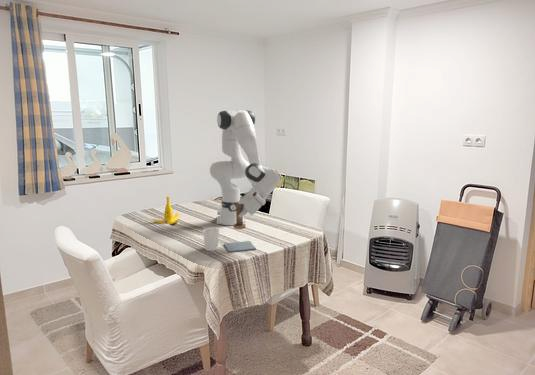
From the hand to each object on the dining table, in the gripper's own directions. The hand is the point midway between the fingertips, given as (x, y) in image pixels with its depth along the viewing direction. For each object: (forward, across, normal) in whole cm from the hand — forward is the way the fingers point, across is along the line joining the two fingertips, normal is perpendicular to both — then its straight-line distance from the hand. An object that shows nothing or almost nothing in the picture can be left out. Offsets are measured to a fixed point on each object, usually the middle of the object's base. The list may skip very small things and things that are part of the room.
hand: (238, 215), depth 199 cm
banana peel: (+33, -61, -9) cm, 70 cm away
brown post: (+4, 0, +5) cm, 6 cm away
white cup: (+22, -2, +2) cm, 22 cm away
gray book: (+12, 0, +12) cm, 17 cm away
